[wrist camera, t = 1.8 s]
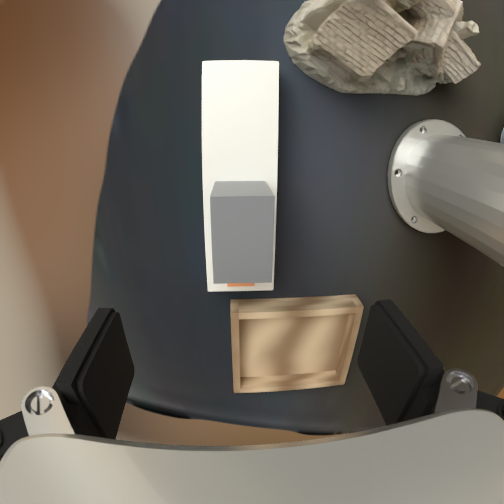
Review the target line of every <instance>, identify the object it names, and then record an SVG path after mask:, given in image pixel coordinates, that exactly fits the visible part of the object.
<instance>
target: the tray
mask: <svg viewBox="0 0 504 504" xmlns="http://www.w3.org/2000/svg"><path fill="white" fill-rule="evenodd" d="M363 308H364V306H363V305H362V303H361V302H360V300H359V299H358V297H357V296H356V294H354V295H337V296H319V297H297V298H270V299H231V338H232V362H233V385H234V393H250V392H271V391H286V390H298V389H308V388H318V387H326V386H334V385H342V384H344V383H345V380H346V376H347V373H348V369H349V366H350V362H351V358H352V354H353V350H354V346H355V342H356V338H357V334H358V330H359V326H360V321H361V317H362V312H363Z"/></svg>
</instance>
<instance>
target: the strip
mask: <svg viewBox="0 0 504 504" xmlns="http://www.w3.org/2000/svg"><path fill="white" fill-rule="evenodd" d="M278 111H279V61H255V60H221V61H202V171H203V205H204V230H205V250H206V268H207V284H208V291H260V290H273V287H274V263H275V237H276V206H277V168H278ZM215 181H265V182H266V183H267V185H268V186H269V188H270V189H271V191H272V192H273V194H274V196H275V210H274V241H273V269H272V283H227V284H214V282H213V262H212V240H211V213H210V195H211V192H212V189H213V186H214V183H215Z"/></svg>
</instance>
